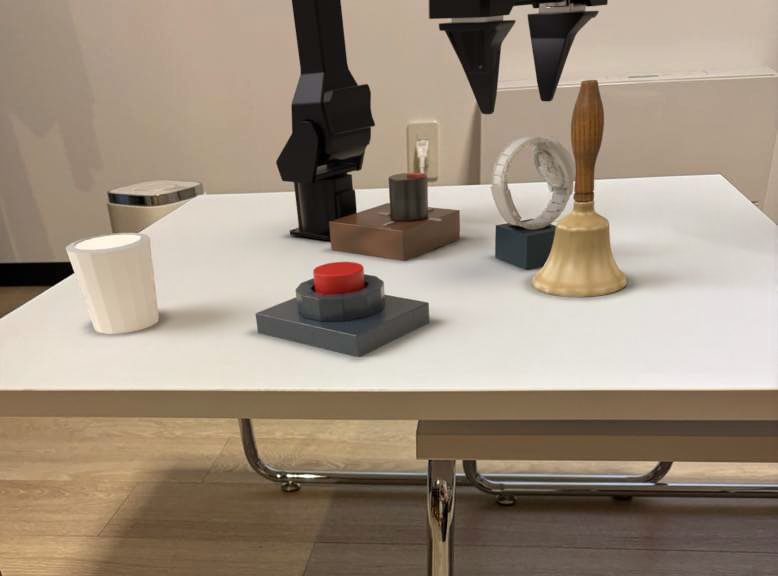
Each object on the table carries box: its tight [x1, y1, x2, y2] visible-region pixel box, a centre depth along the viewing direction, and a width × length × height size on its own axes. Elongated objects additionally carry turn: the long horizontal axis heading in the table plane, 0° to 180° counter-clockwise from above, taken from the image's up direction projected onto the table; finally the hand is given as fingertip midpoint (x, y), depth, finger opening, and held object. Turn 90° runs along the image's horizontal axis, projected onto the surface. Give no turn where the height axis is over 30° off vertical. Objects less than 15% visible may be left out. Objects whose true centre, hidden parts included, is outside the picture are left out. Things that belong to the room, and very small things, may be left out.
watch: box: [490, 135, 576, 271], centre depth 78 cm, size 6×8×11 cm
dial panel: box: [329, 202, 461, 262], centre depth 88 cm, size 11×10×3 cm
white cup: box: [65, 232, 160, 335], centre depth 71 cm, size 7×7×7 cm
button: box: [312, 261, 365, 294], centre depth 66 cm, size 4×4×2 cm
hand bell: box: [531, 79, 628, 298], centre depth 69 cm, size 8×8×16 cm
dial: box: [388, 172, 429, 221], centre depth 86 cm, size 4×4×4 cm
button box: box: [254, 273, 430, 358], centre depth 67 cm, size 11×9×4 cm
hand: (518, 107), depth 75 cm, fingers open, 9 cm apart
